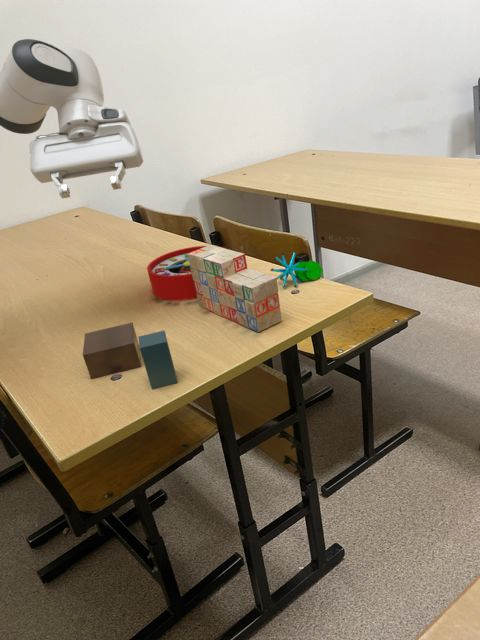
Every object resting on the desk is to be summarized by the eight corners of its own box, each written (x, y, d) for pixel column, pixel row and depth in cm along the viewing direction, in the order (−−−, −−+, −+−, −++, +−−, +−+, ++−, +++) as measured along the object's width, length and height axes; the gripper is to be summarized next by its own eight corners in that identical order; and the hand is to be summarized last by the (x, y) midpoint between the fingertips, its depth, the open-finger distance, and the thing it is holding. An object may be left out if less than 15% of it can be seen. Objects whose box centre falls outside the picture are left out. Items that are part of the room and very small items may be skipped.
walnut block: (91, 379, 94) (82, 355, 92) (92, 356, 102) (84, 333, 99) (141, 366, 95) (134, 342, 93) (139, 344, 103) (132, 322, 101)
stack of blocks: (283, 321, 103) (275, 261, 97) (258, 333, 100) (248, 273, 94) (221, 296, 119) (211, 243, 113) (198, 306, 116) (186, 252, 110)
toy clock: (235, 265, 117) (145, 283, 116) (239, 289, 120) (152, 307, 119) (225, 240, 135) (147, 255, 133) (229, 262, 138) (153, 277, 136)
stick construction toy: (275, 284, 114) (272, 249, 115) (265, 293, 121) (263, 260, 122) (325, 286, 118) (323, 252, 119) (313, 294, 124) (311, 262, 126)
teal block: (151, 389, 88) (139, 347, 84) (150, 376, 92) (138, 336, 88) (177, 382, 89) (166, 341, 85) (175, 370, 93) (164, 330, 89)
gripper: (21, 126, 97) (26, 191, 93) (132, 108, 97) (141, 172, 94) (35, 148, 103) (40, 210, 99) (140, 131, 103) (149, 192, 100)
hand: (90, 191), depth 96 cm, fingers open, 8 cm apart
